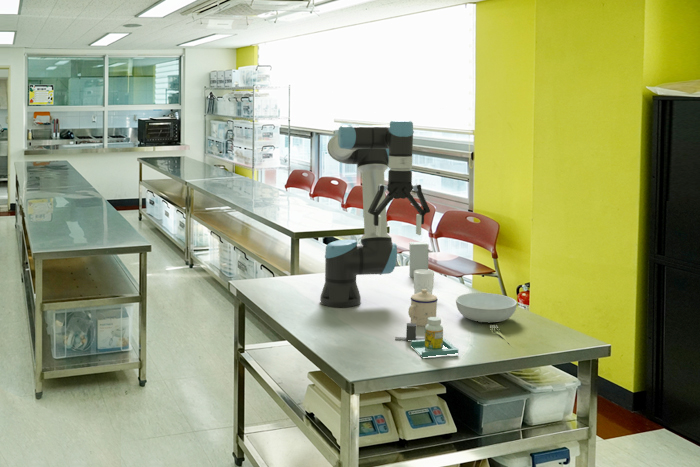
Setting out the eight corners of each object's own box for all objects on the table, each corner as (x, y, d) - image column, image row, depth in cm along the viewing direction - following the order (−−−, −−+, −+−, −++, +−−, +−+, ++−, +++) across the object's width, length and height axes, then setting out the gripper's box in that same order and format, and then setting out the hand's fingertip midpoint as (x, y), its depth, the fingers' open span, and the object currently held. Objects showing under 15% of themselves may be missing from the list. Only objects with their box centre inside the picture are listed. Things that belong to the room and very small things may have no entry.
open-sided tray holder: (423, 358, 208) (423, 352, 208) (410, 346, 218) (410, 340, 218) (458, 356, 211) (458, 349, 210) (444, 344, 221) (444, 338, 221)
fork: (510, 351, 218) (510, 345, 217) (488, 330, 237) (488, 324, 237) (520, 351, 218) (520, 345, 218) (497, 329, 237) (497, 324, 237)
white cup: (433, 294, 281) (434, 269, 279) (433, 299, 273) (434, 274, 272) (413, 293, 282) (413, 268, 280) (412, 298, 274) (413, 273, 272)
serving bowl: (444, 314, 254) (445, 295, 253) (494, 308, 262) (495, 290, 261) (475, 331, 235) (476, 310, 234) (528, 324, 243) (529, 305, 242)
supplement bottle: (445, 350, 213) (446, 320, 212) (430, 353, 211) (431, 322, 209) (436, 345, 218) (437, 315, 216) (421, 347, 216) (422, 317, 214)
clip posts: (395, 340, 224) (395, 325, 223) (395, 337, 227) (395, 322, 226) (446, 342, 223) (446, 327, 222) (445, 339, 225) (446, 324, 225)
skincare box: (427, 274, 315) (428, 241, 312) (428, 277, 309) (429, 244, 306) (408, 274, 315) (409, 241, 313) (409, 277, 309) (409, 243, 307)
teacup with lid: (421, 317, 250) (422, 285, 248) (442, 323, 243) (443, 289, 241) (398, 324, 242) (399, 290, 240) (419, 330, 235) (420, 296, 233)
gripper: (365, 170, 220) (364, 238, 224) (441, 170, 227) (438, 235, 230) (359, 168, 228) (358, 234, 231) (432, 168, 234) (430, 231, 237)
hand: (398, 235), depth 231 cm, fingers open, 13 cm apart
